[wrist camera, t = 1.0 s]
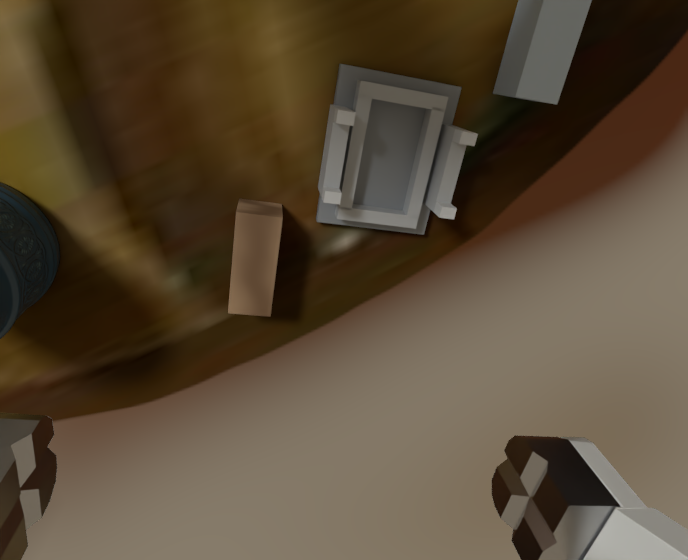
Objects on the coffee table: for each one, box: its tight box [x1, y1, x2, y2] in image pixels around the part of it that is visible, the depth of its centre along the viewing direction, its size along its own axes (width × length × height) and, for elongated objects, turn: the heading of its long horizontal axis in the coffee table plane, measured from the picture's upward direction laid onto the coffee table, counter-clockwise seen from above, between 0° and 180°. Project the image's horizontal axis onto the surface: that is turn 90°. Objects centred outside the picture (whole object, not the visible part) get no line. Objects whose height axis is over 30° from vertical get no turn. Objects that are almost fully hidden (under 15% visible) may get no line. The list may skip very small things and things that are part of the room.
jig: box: [316, 64, 478, 235], centre depth 41 cm, size 14×12×6 cm
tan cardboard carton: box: [228, 199, 283, 317], centre depth 44 cm, size 4×10×4 cm, turn 170°
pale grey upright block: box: [493, 0, 592, 104], centre depth 39 cm, size 8×4×4 cm, turn 171°
